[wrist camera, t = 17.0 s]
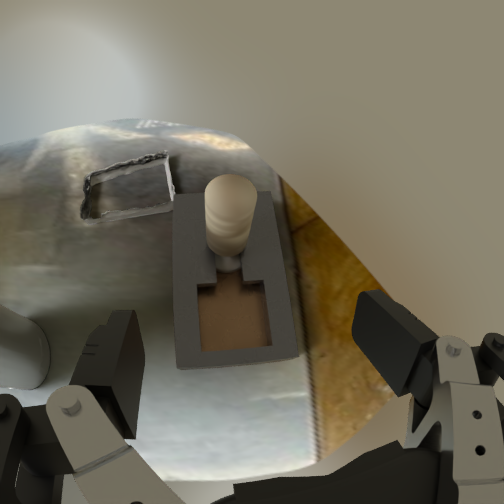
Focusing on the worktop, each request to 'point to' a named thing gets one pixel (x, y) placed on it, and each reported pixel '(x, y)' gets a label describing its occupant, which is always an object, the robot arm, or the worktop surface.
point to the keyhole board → (229, 293)
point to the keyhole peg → (229, 218)
